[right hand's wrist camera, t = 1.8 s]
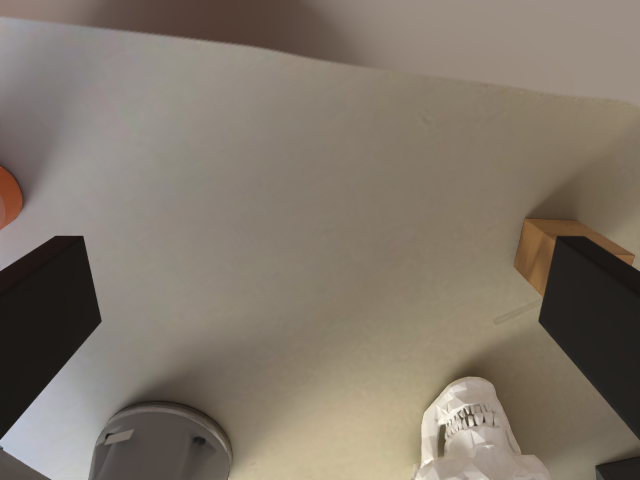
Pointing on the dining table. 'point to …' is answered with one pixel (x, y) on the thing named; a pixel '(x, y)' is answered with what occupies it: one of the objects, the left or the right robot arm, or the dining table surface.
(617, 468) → the tray
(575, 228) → the block
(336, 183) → the dining table surface
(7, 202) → the cup with straw
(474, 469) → the skull
